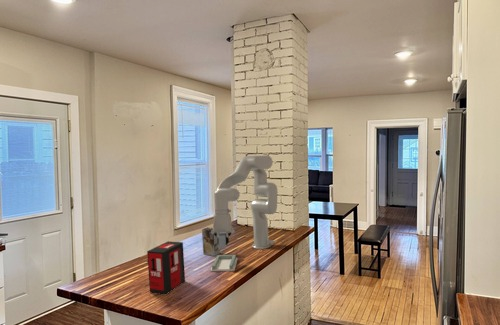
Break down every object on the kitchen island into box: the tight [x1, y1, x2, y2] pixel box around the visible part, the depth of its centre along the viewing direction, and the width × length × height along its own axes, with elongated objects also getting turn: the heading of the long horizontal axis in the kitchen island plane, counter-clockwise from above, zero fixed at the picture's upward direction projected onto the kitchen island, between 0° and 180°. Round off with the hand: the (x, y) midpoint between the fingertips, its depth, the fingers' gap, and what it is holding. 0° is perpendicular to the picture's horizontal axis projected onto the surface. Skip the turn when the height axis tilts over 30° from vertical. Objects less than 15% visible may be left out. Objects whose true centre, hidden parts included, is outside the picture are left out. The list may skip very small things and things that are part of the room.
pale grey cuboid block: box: [218, 232, 228, 250], centre depth 192 cm, size 4×10×7 cm, turn 176°
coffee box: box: [201, 227, 221, 257], centre depth 214 cm, size 9×6×16 cm
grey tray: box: [210, 254, 239, 272], centre depth 193 cm, size 13×18×3 cm
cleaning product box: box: [146, 240, 186, 295], centre depth 166 cm, size 16×9×20 cm, turn 159°
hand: (223, 243), depth 192 cm, fingers closed on pale grey cuboid block, 3 cm apart
